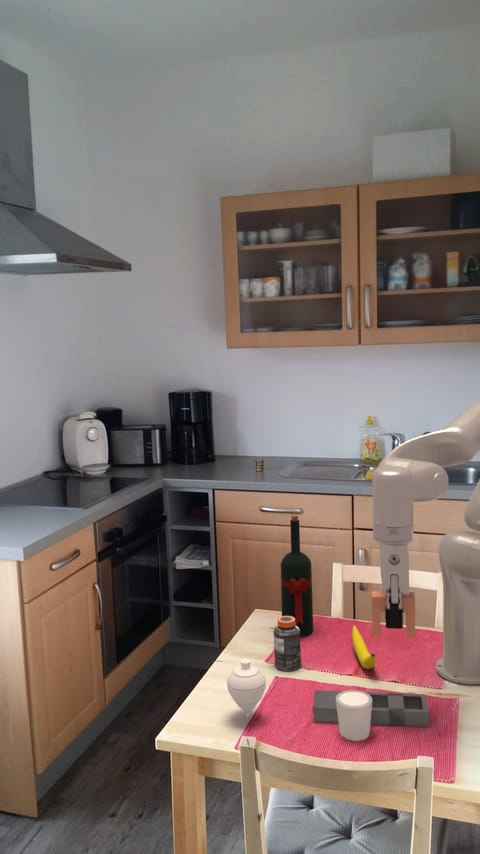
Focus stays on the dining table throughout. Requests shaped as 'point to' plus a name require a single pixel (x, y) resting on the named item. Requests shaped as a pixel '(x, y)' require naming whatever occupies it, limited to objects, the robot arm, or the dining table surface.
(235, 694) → the spinning top
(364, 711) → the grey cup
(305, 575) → the wine bottle
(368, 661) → the banana
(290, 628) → the pill bottle
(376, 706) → the grey slotted block
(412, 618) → the orange block
